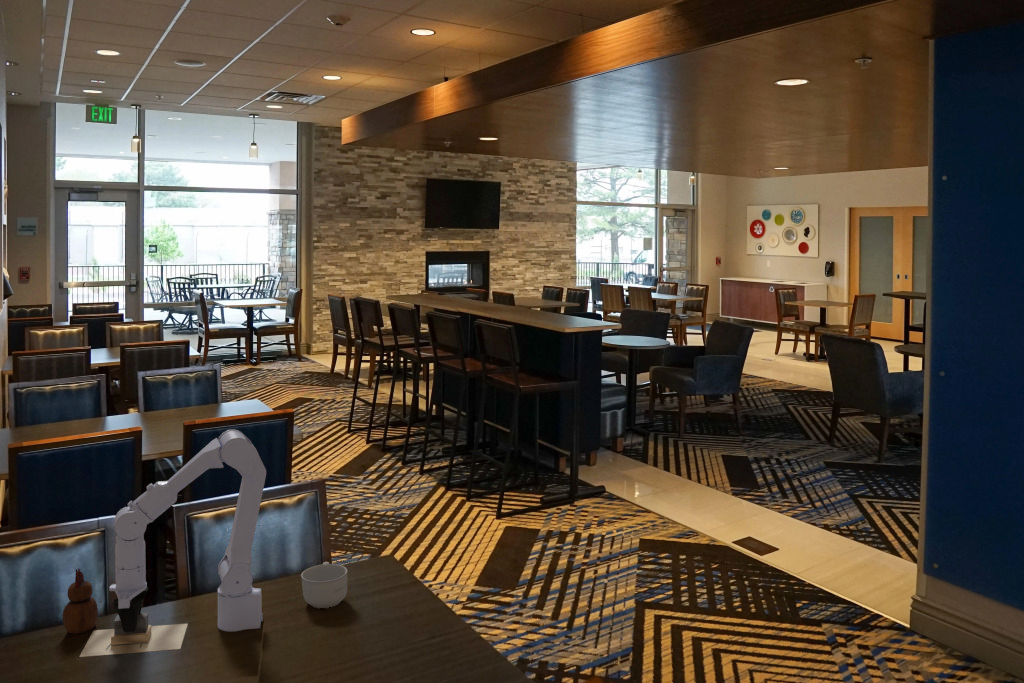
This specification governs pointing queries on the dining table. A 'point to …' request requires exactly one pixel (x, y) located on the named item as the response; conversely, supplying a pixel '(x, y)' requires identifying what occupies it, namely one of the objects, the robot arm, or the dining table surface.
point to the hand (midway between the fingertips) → (131, 627)
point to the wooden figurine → (80, 606)
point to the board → (159, 641)
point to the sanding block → (130, 638)
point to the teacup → (324, 585)
